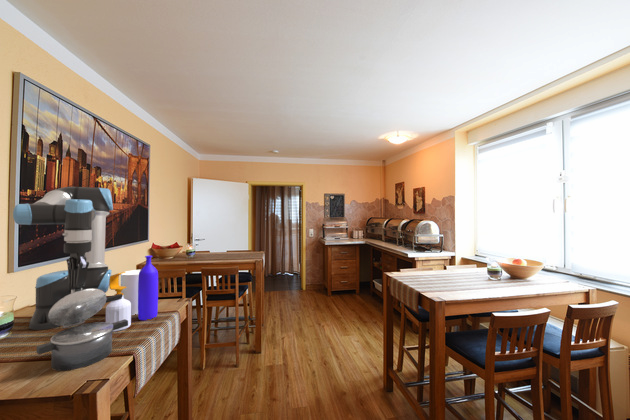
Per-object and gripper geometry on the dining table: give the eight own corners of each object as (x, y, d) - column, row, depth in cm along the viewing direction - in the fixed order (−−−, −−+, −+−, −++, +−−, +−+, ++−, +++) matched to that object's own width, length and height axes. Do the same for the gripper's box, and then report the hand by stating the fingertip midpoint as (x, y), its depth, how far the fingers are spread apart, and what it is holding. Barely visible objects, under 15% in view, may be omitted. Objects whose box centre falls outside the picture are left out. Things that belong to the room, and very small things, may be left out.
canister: (118, 309, 139) (119, 271, 139) (148, 304, 148) (149, 268, 148) (122, 317, 129) (122, 276, 129) (154, 310, 138) (154, 272, 138)
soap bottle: (117, 333, 112) (118, 275, 113) (100, 331, 114) (100, 274, 114) (135, 324, 121) (136, 270, 121) (119, 322, 123) (119, 269, 123)
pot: (29, 366, 88) (29, 339, 88) (116, 336, 109) (116, 314, 109) (46, 382, 79) (47, 352, 79) (137, 346, 101) (137, 323, 101)
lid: (44, 334, 91) (42, 330, 92) (116, 314, 109) (114, 311, 110) (54, 296, 86) (52, 293, 87) (127, 282, 105) (125, 279, 106)
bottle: (154, 312, 135) (154, 254, 135) (160, 316, 130) (161, 255, 130) (135, 317, 129) (135, 256, 129) (141, 322, 123) (142, 257, 124)
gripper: (57, 240, 97) (56, 305, 97) (71, 244, 90) (69, 313, 90) (83, 239, 103) (82, 299, 103) (98, 242, 97) (96, 306, 97)
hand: (76, 305), depth 97 cm, fingers closed
